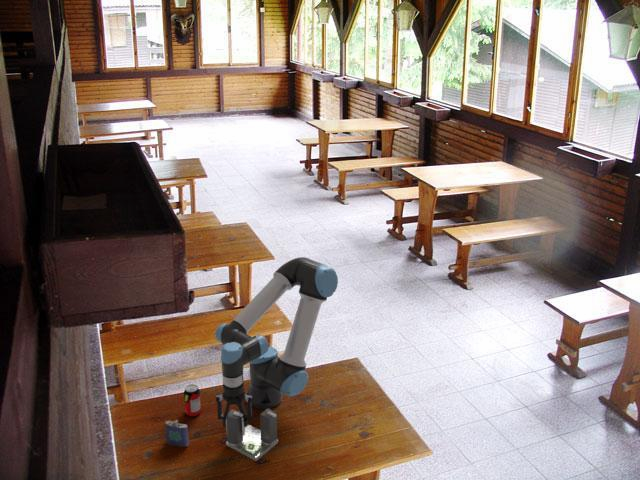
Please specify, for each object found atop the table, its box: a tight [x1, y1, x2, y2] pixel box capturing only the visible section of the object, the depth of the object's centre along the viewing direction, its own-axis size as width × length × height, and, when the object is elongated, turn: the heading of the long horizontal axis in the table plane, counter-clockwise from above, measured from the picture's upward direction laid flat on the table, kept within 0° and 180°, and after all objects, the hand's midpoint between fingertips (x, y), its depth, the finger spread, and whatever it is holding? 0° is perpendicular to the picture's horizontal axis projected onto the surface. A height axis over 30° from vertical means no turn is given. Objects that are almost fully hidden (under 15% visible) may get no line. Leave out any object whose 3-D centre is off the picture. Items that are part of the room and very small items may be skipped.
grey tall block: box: [259, 408, 278, 445], centre depth 242 cm, size 6×4×13 cm
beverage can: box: [183, 384, 202, 417], centre depth 260 cm, size 6×6×12 cm
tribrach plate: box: [225, 424, 279, 462], centre depth 244 cm, size 16×14×3 cm
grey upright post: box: [226, 409, 243, 445], centre depth 241 cm, size 6×4×13 cm
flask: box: [164, 419, 190, 448], centre depth 242 cm, size 9×3×11 cm, turn 74°
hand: (235, 432), depth 244 cm, fingers closed on grey upright post, 5 cm apart
